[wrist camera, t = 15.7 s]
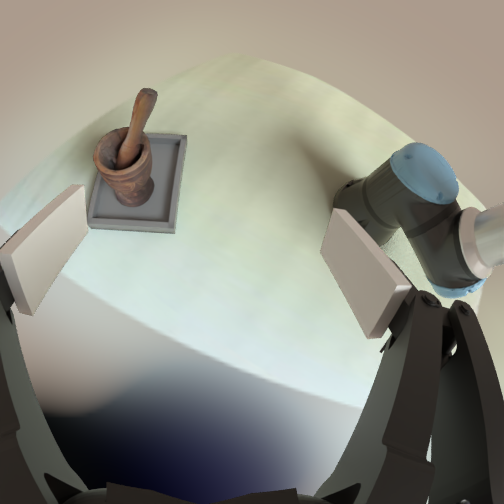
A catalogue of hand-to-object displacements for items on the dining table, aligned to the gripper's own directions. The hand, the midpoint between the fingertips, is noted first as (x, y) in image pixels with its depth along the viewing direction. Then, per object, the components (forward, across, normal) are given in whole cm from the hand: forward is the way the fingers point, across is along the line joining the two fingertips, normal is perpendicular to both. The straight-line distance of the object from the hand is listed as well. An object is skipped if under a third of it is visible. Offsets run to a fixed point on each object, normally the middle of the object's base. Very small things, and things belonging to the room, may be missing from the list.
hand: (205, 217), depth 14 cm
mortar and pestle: (+36, -13, -11) cm, 40 cm away
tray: (+37, -13, -11) cm, 41 cm away
